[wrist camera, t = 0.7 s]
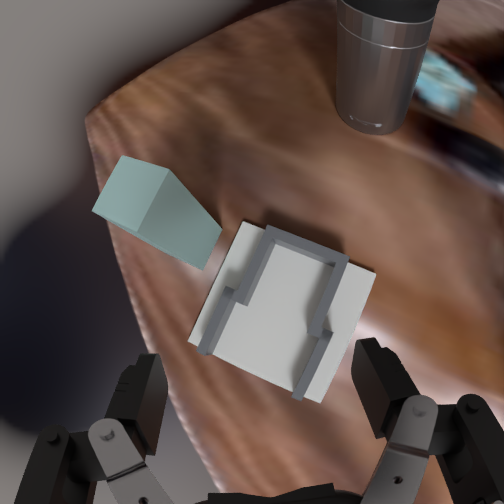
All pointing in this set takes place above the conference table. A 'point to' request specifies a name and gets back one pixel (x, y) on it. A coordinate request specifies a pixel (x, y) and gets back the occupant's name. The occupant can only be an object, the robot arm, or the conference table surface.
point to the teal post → (158, 211)
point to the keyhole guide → (283, 309)
